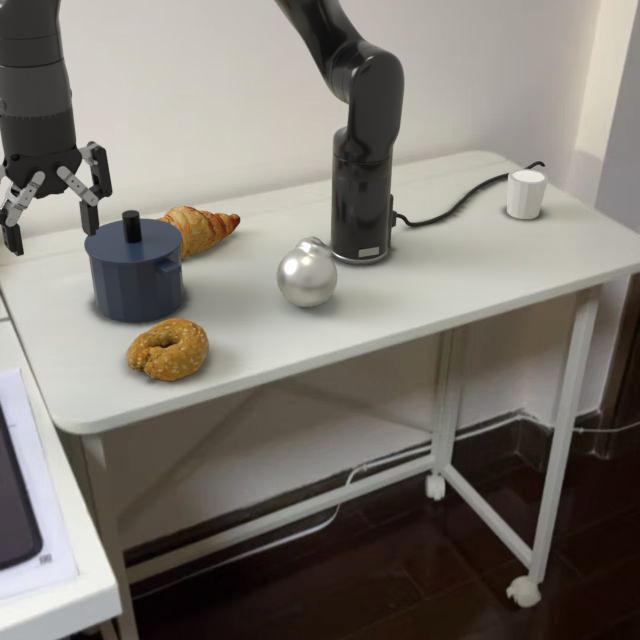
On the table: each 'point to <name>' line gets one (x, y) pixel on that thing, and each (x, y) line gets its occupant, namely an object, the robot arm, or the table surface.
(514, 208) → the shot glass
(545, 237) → the table surface
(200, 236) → the croissant
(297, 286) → the silver round bulb
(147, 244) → the pot lid
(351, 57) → the robot arm
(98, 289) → the pot
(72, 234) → the table surface
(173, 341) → the bagel
